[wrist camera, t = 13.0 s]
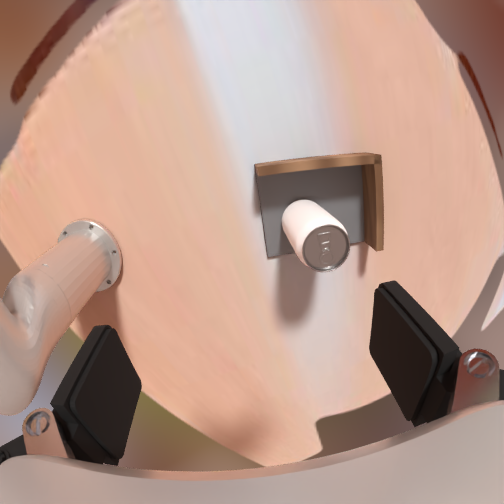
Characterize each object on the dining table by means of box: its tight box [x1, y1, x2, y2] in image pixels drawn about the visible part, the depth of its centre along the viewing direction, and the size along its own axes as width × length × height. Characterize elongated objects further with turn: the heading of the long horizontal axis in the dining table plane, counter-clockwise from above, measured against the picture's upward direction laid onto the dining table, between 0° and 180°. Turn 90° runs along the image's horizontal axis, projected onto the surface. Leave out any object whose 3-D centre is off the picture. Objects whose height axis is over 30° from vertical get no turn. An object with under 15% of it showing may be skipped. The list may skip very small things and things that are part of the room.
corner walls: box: [255, 153, 384, 251], centre depth 40 cm, size 17×14×5 cm
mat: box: [256, 165, 364, 257], centre depth 42 cm, size 17×14×1 cm
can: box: [282, 200, 350, 272], centre depth 37 cm, size 6×6×12 cm
